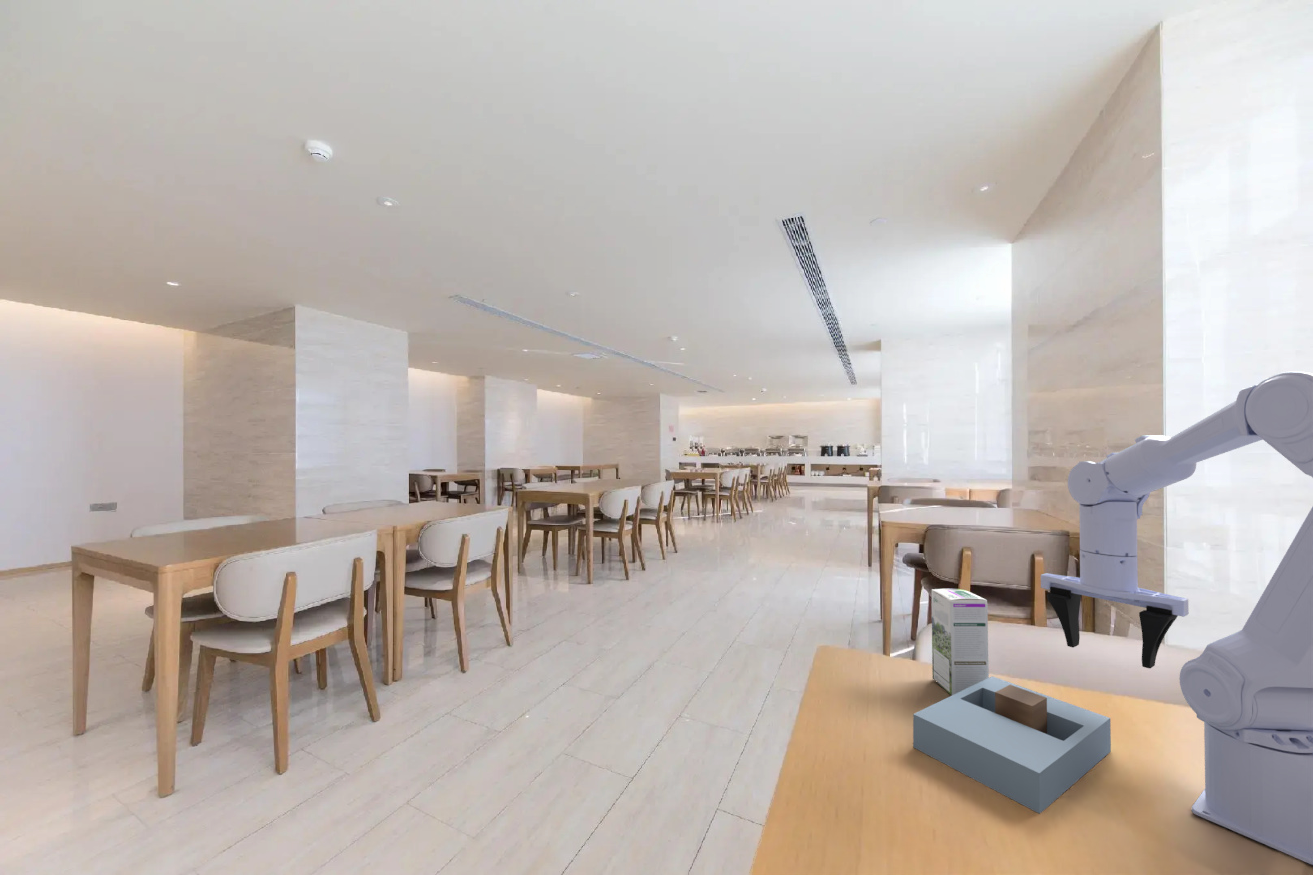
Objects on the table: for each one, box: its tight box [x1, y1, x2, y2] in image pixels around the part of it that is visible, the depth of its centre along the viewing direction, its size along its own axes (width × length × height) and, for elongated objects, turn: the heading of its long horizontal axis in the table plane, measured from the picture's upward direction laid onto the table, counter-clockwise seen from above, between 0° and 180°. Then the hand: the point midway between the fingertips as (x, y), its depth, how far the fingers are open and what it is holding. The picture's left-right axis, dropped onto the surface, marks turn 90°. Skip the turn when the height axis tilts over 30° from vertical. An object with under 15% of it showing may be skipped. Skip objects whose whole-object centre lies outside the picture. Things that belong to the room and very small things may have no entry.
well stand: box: [912, 676, 1112, 814], centre depth 60 cm, size 13×20×4 cm, turn 122°
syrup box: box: [931, 588, 990, 696], centre depth 76 cm, size 6×6×14 cm
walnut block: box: [995, 685, 1047, 734], centre depth 62 cm, size 4×4×6 cm
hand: (1108, 655), depth 66 cm, fingers open, 7 cm apart
